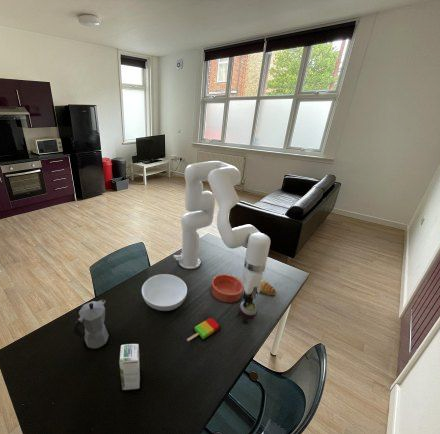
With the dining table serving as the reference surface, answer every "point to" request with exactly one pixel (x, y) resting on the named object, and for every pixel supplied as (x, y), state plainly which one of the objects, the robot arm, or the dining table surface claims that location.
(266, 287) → the pastry
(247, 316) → the mate gourd
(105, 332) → the coffeepot
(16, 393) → the dining table surface
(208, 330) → the popsicle
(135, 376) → the syrup box
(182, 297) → the serving bowl
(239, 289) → the terracotta bowl
